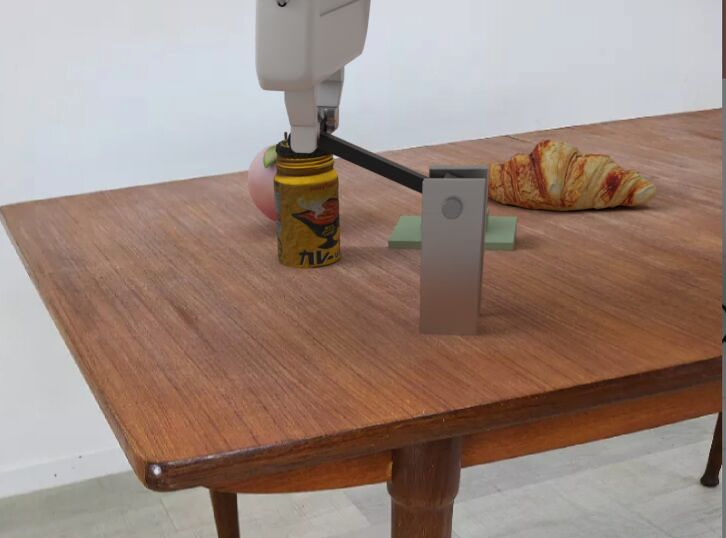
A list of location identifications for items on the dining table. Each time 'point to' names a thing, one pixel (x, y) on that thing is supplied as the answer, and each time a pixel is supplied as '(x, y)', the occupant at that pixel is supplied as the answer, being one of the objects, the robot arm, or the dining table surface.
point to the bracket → (452, 249)
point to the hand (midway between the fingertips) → (315, 141)
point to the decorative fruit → (264, 180)
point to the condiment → (306, 208)
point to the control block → (496, 235)
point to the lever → (369, 160)
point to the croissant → (566, 180)
